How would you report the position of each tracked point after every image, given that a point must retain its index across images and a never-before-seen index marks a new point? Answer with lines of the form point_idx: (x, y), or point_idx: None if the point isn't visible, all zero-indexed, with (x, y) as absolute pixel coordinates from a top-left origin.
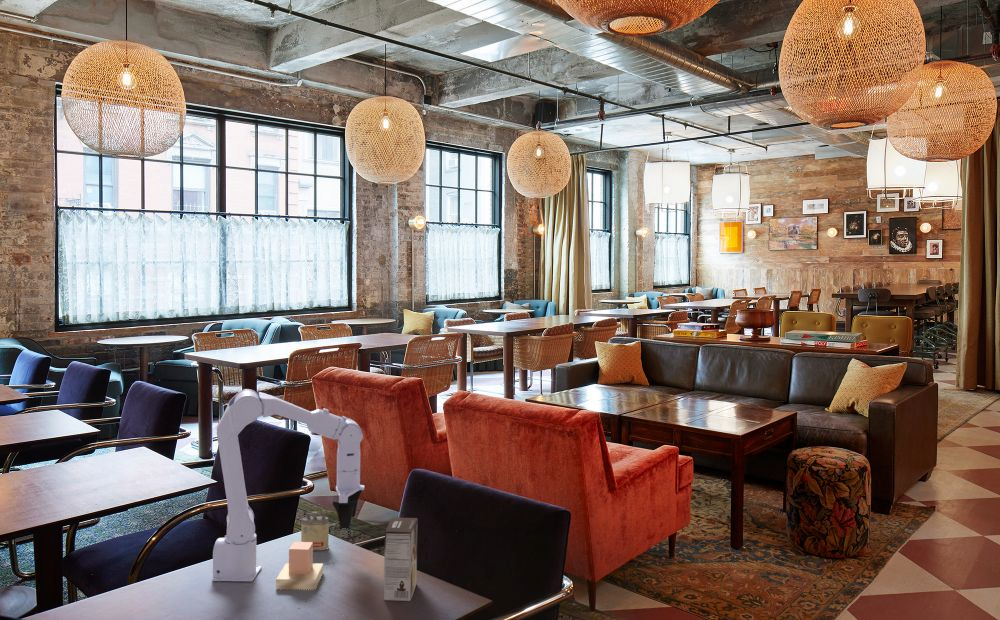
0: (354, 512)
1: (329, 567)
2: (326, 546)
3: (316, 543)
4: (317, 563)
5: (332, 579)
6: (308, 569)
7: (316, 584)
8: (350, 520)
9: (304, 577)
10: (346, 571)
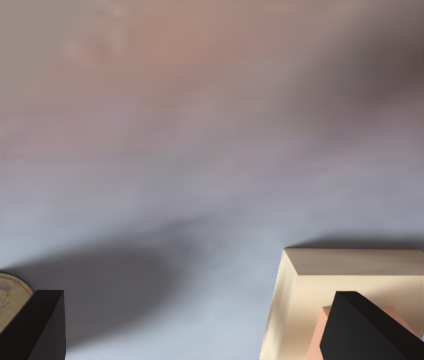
0: (50, 326)
1: (224, 235)
2: (12, 287)
3: None
4: (293, 296)
5: (346, 207)
6: (400, 321)
7: (415, 258)
8: (414, 335)
9: (415, 313)
10: (277, 161)
